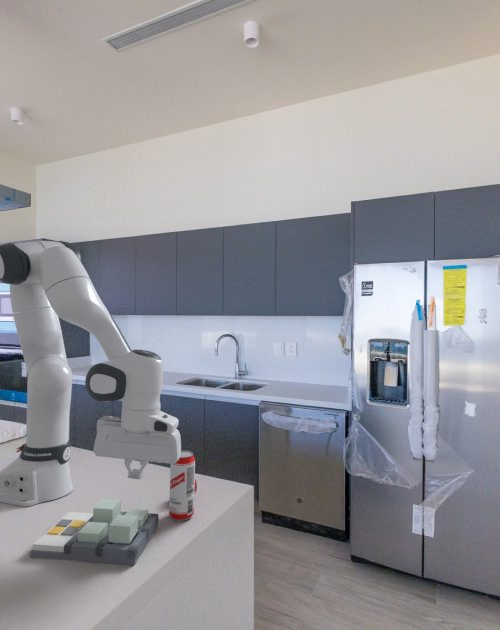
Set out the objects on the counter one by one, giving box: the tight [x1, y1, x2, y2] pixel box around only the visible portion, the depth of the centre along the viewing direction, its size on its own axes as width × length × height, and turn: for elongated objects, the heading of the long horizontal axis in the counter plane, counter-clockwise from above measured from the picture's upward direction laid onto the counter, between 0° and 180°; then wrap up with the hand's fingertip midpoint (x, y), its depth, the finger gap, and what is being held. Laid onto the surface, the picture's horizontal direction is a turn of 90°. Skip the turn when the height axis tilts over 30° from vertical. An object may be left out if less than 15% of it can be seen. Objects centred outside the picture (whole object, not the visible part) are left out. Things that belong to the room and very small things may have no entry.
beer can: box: [168, 449, 196, 522], centre depth 100 cm, size 6×6×16 cm
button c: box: [108, 515, 138, 544], centre depth 84 cm, size 5×5×4 cm
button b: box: [92, 498, 122, 524], centre depth 92 cm, size 5×5×4 cm
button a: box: [78, 522, 108, 543], centre depth 85 cm, size 5×5×4 cm
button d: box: [125, 508, 149, 528], centre depth 91 cm, size 5×5×4 cm
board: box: [29, 511, 159, 566], centre depth 88 cm, size 23×15×3 cm
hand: (135, 477), depth 92 cm, fingers closed
